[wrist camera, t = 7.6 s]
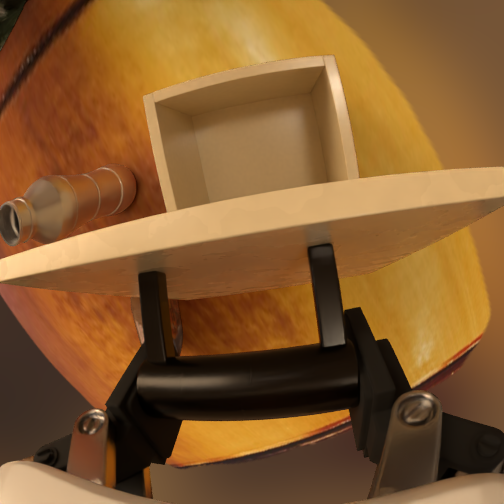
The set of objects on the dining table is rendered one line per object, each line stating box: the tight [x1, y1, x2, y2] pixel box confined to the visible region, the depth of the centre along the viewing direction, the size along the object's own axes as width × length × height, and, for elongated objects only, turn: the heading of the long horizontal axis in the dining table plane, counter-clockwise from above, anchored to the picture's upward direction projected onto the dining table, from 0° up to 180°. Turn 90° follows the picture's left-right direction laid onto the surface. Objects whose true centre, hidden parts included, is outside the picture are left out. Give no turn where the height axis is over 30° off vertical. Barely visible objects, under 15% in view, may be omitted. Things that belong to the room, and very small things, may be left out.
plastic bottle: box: [0, 164, 136, 246], centre depth 26 cm, size 6×7×20 cm
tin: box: [131, 297, 183, 356], centre depth 36 cm, size 15×3×8 cm, turn 2°
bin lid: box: [0, 167, 504, 421], centre depth 14 cm, size 19×16×5 cm
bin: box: [143, 55, 360, 212], centre depth 27 cm, size 18×16×12 cm
